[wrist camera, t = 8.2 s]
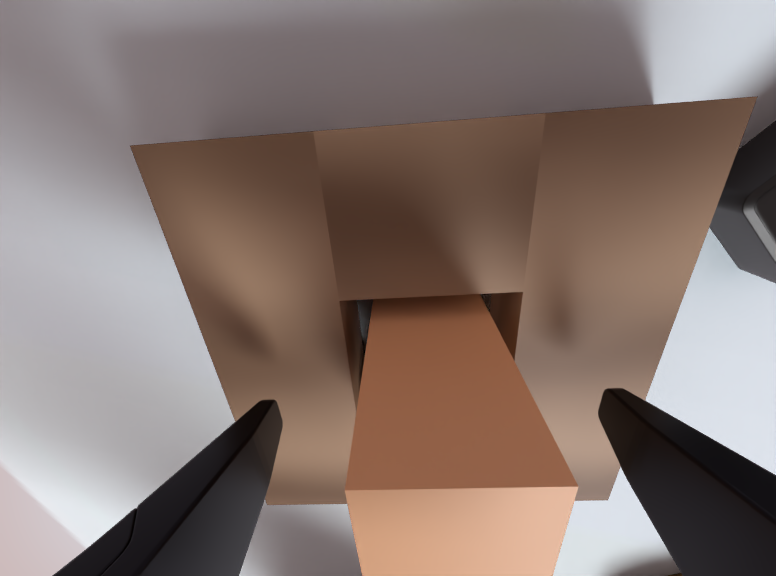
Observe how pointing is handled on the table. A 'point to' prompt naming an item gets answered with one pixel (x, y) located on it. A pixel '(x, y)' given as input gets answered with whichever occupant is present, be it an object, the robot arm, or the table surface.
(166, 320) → the table surface
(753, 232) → the multiport hub
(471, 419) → the peg
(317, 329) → the socket block
